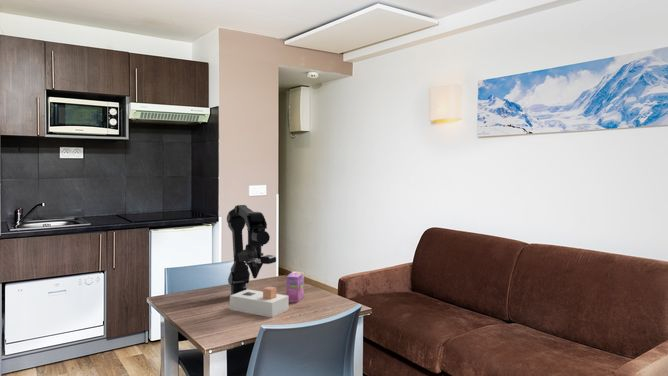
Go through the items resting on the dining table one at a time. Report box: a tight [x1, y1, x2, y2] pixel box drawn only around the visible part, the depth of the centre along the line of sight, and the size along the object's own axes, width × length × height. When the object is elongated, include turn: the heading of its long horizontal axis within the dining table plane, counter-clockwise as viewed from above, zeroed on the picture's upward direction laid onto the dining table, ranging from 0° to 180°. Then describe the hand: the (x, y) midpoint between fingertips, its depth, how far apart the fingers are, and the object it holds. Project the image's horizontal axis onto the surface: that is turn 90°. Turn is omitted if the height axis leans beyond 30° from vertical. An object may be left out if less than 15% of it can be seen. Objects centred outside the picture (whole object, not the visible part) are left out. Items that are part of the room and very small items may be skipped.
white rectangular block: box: [229, 288, 290, 318], centre depth 195 cm, size 22×12×6 cm, turn 63°
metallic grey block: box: [242, 292, 255, 296], centre depth 198 cm, size 4×4×6 cm
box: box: [285, 271, 305, 303], centre depth 211 cm, size 10×6×12 cm, turn 168°
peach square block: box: [262, 285, 277, 299], centre depth 192 cm, size 4×4×6 cm
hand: (254, 278), depth 195 cm, fingers closed
